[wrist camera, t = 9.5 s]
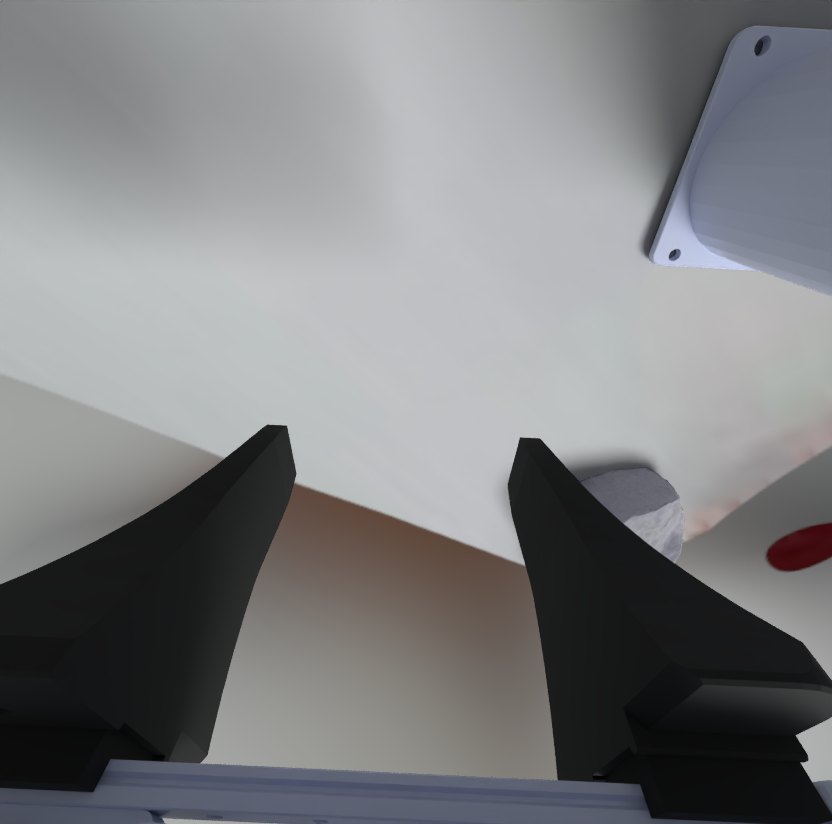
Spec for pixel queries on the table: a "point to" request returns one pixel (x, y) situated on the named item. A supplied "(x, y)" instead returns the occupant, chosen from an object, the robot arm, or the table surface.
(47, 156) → the table surface
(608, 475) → the stone block
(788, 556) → the table surface
